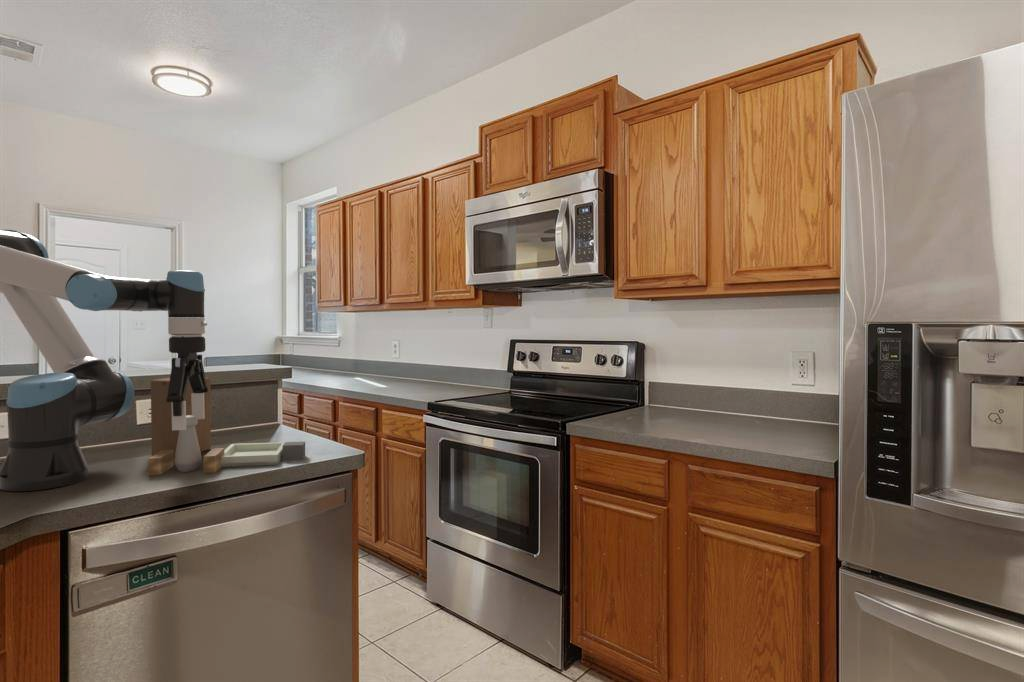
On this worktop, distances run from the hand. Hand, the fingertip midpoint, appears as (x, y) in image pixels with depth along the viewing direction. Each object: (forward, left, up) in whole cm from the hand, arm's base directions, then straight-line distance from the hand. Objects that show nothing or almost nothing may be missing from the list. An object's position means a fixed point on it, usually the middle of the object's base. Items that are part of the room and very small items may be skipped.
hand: (189, 424), depth 133 cm
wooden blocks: (0, 0, -11) cm, 11 cm away
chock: (+23, +7, -11) cm, 26 cm away
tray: (+13, +8, -11) cm, 19 cm away
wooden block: (-7, +18, -11) cm, 23 cm away
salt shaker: (0, 0, -11) cm, 11 cm away
